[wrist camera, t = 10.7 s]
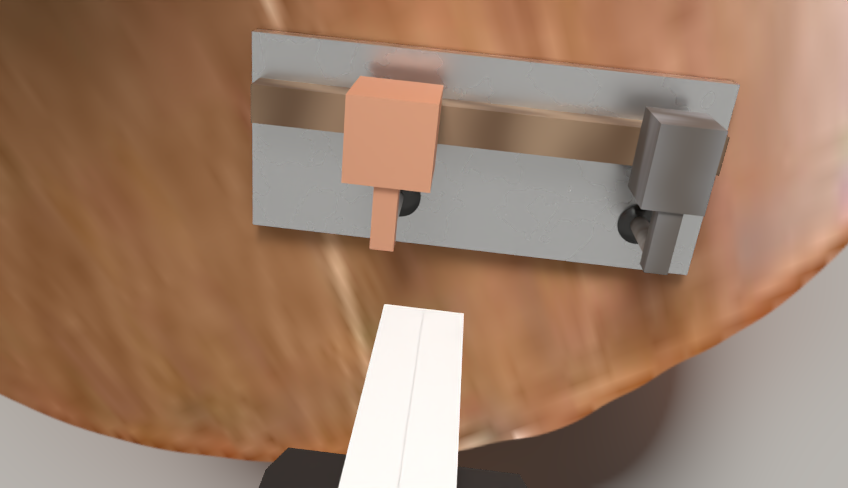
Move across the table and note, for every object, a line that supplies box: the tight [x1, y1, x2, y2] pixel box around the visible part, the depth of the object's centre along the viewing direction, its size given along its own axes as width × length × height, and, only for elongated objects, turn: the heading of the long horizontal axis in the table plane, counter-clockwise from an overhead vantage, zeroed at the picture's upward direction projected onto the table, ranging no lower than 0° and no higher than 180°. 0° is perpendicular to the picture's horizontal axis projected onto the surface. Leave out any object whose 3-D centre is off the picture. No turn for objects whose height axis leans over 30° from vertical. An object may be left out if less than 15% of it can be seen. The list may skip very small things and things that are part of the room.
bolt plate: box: [252, 29, 740, 275], centre depth 47 cm, size 30×13×1 cm, turn 84°
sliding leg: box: [341, 76, 444, 252], centre depth 43 cm, size 5×9×7 cm, turn 174°
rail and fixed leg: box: [251, 78, 729, 275], centre depth 43 cm, size 29×9×6 cm, turn 84°
